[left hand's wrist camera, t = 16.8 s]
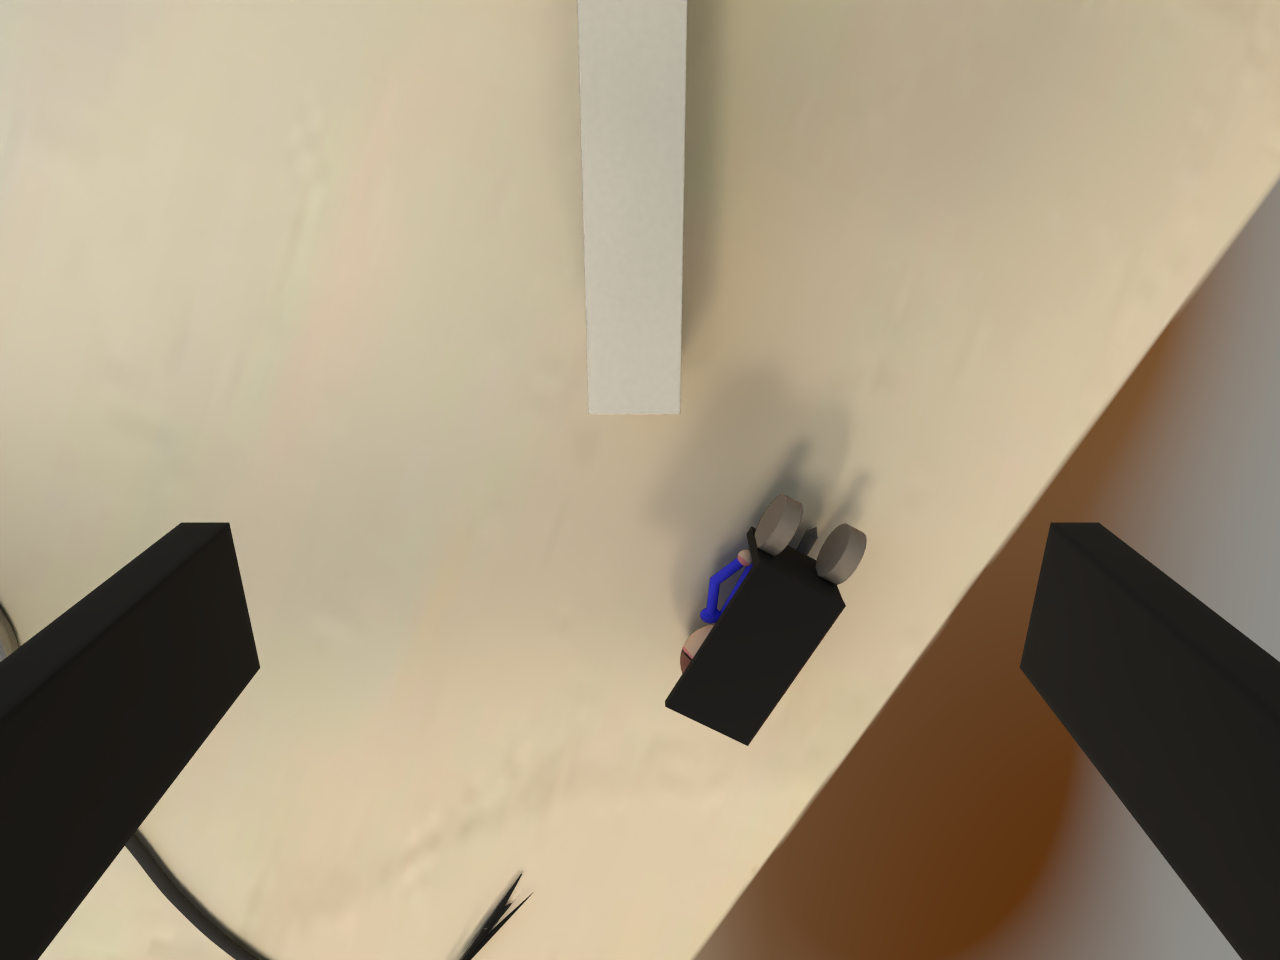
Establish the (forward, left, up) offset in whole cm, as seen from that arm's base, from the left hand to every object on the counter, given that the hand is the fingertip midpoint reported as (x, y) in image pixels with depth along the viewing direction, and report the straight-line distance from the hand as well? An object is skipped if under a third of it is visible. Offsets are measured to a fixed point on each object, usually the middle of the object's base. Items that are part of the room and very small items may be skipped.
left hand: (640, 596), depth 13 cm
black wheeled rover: (-21, -3, -35) cm, 41 cm away
